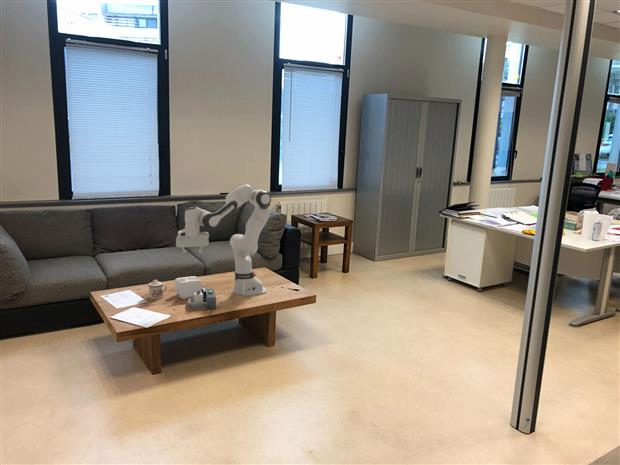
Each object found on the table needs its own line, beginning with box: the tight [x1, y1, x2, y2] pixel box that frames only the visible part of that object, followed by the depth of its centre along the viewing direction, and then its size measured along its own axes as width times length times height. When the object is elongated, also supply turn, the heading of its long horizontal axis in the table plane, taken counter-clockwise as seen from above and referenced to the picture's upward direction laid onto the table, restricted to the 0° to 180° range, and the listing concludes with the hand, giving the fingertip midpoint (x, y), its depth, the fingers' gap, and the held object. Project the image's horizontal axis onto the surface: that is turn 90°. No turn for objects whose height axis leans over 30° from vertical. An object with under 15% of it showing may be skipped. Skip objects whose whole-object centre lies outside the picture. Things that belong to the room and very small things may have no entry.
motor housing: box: [187, 288, 217, 311], centre depth 306 cm, size 16×16×9 cm
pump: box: [193, 290, 204, 303], centre depth 305 cm, size 5×5×9 cm
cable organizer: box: [174, 275, 202, 300], centre depth 322 cm, size 15×11×12 cm
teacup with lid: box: [147, 279, 167, 300], centre depth 318 cm, size 12×9×12 cm
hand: (192, 253), depth 309 cm, fingers open, 8 cm apart
